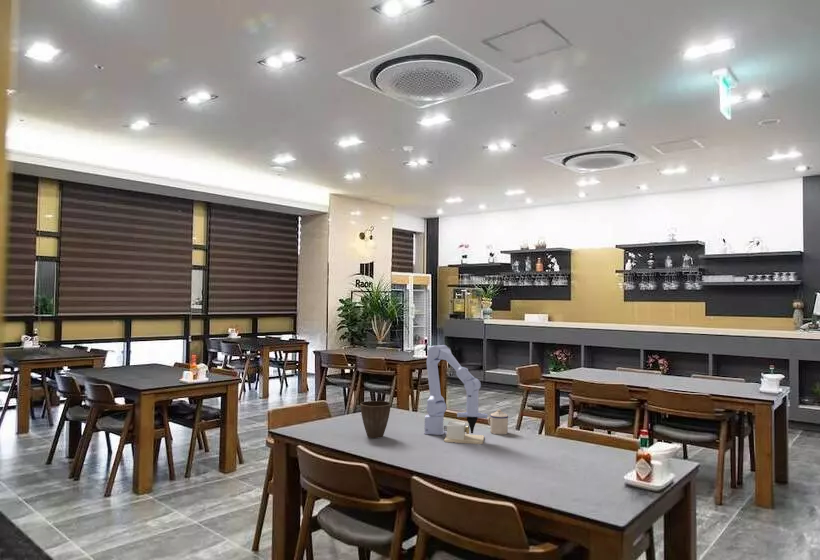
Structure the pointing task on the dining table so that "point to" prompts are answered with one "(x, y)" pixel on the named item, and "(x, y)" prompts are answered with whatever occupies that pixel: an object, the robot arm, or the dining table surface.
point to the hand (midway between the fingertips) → (472, 432)
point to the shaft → (466, 429)
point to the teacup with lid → (498, 423)
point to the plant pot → (375, 417)
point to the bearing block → (461, 434)
